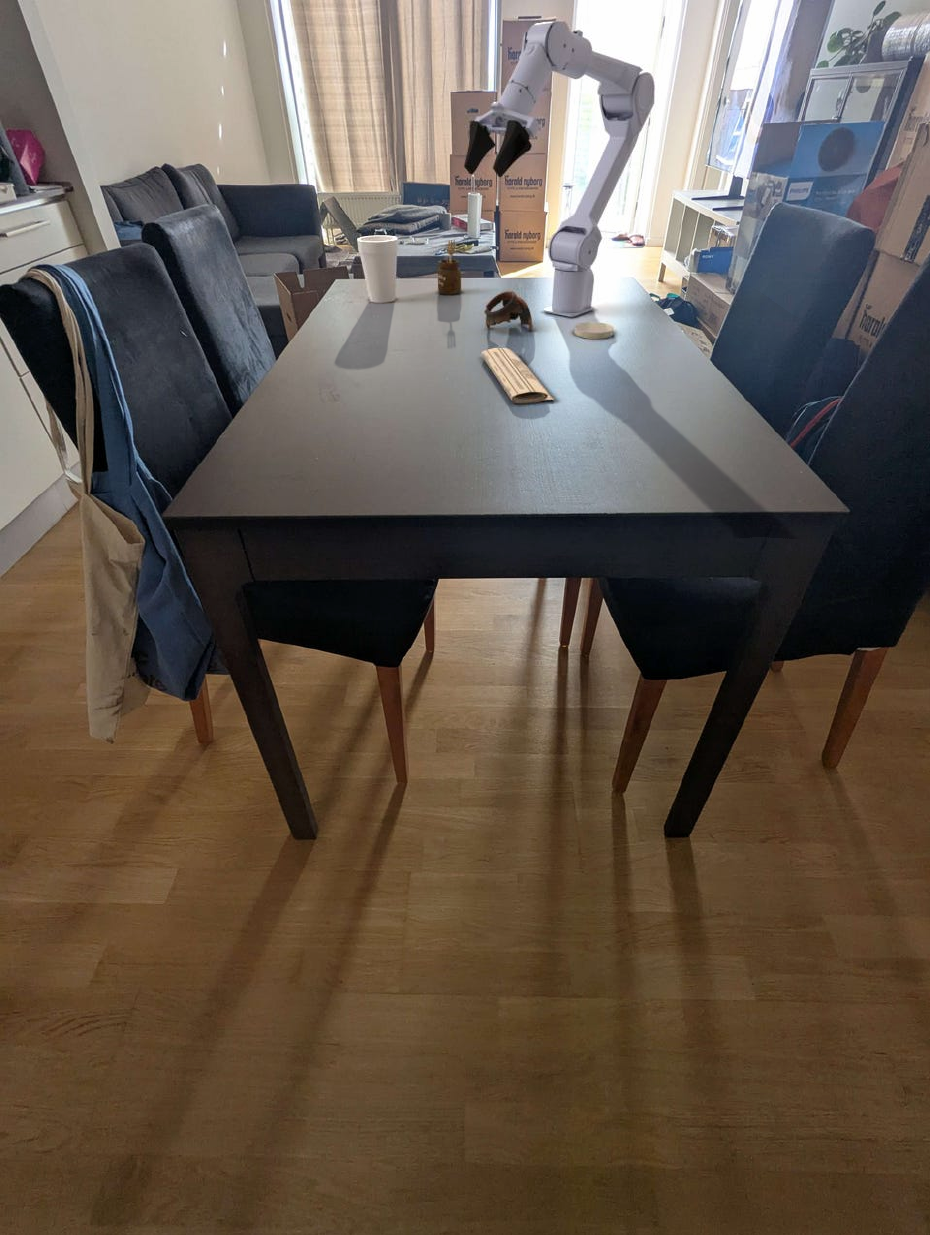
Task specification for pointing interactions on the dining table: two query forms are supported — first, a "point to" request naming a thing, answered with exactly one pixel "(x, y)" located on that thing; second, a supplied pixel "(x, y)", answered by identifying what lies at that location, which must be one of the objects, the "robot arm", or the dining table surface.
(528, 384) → the newspaper
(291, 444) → the dining table surface
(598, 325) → the tan round disc
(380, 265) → the foam cup
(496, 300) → the brown curved piece
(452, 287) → the utensil holder
